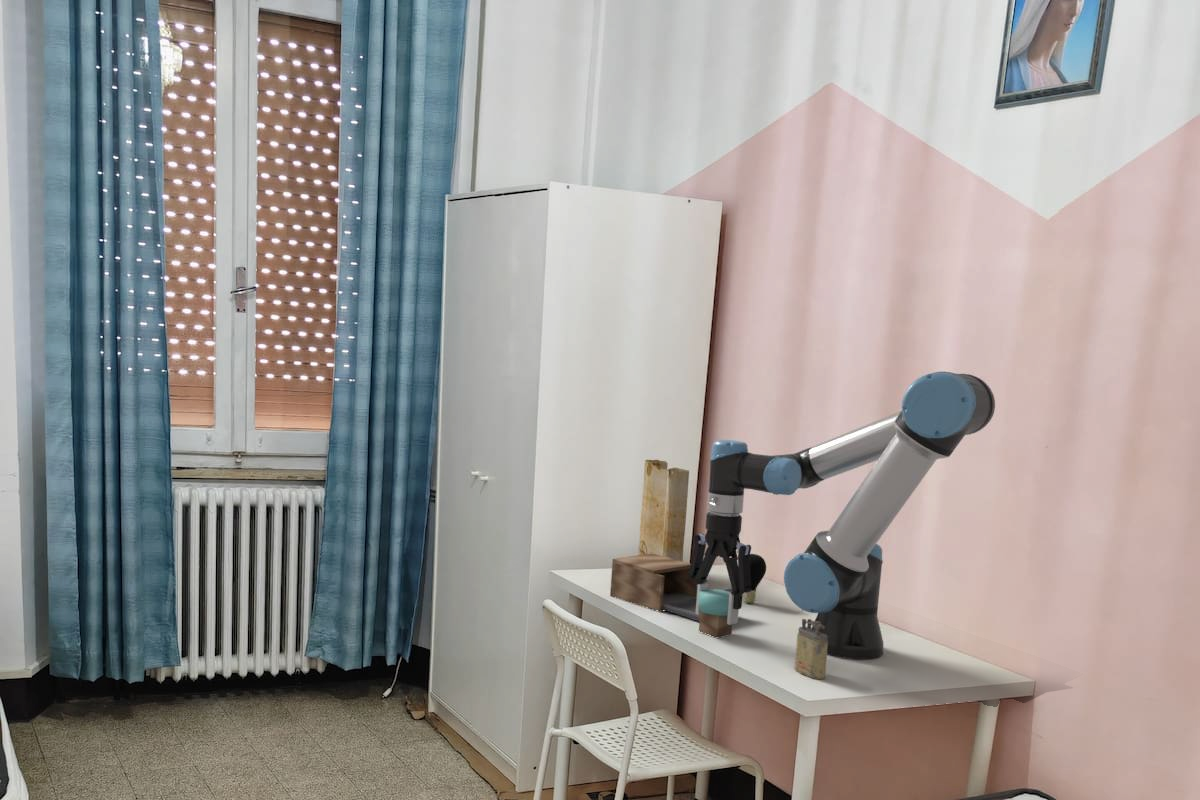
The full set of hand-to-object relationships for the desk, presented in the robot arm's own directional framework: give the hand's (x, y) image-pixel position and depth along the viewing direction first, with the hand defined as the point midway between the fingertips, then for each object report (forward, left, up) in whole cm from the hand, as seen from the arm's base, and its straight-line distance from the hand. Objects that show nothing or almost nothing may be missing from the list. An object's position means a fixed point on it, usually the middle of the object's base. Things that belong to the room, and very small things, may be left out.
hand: (716, 618), depth 209 cm
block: (0, 0, -3) cm, 3 cm away
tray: (+15, -9, -3) cm, 18 cm away
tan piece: (+42, -28, -3) cm, 51 cm away
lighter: (-27, +5, -4) cm, 28 cm away
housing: (+26, -9, -3) cm, 28 cm away
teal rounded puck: (0, 0, +2) cm, 2 cm away
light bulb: (+12, -28, -3) cm, 31 cm away
